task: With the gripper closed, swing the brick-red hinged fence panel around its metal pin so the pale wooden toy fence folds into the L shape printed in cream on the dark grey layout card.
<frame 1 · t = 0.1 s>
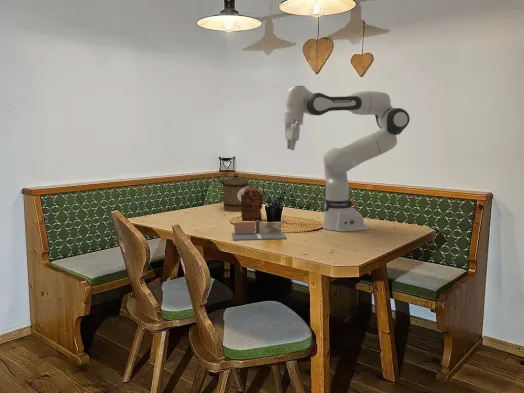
hand: (290, 149, 228), 39 cm above the table, tool pointing down, fingers open, 8 cm apart
hinged fence panel: (244, 227, 222), point 3 cm above the table, hinge at 0.0°
wooden container: (236, 209, 287), on the table
layout card: (258, 236, 219), on the table
wooden figurine: (252, 221, 254), on the table
fixed fence panel: (257, 234, 223), resting on layout card
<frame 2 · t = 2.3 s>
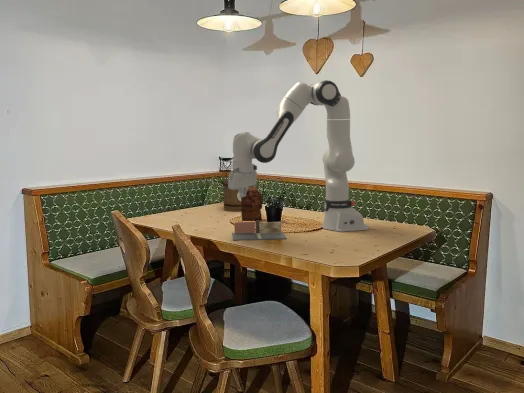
hand: (242, 196, 225), 17 cm above the table, tool pointing down, fingers closed
nothing on the table moved.
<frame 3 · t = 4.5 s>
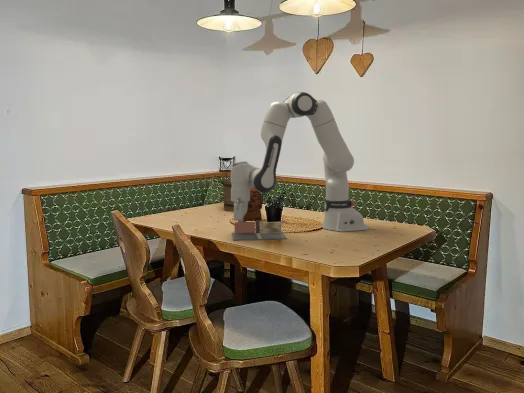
hand: (240, 225, 224), 4 cm above the table, tool pointing down, fingers closed
hinged fence panel: (244, 227, 222), point 3 cm above the table, hinge at 1.2°, touching gripper
everything else where it was.
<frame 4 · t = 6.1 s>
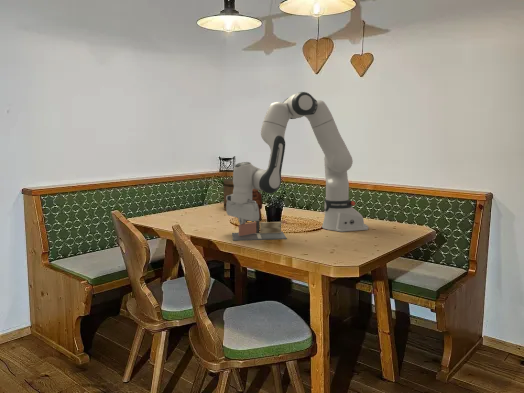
hand: (242, 227, 219), 4 cm above the table, tool pointing down, fingers closed, pressing on hinged fence panel
hinged fence panel: (247, 228, 219), point 3 cm above the table, hinge at 34.3°, touching gripper
everything else where it was.
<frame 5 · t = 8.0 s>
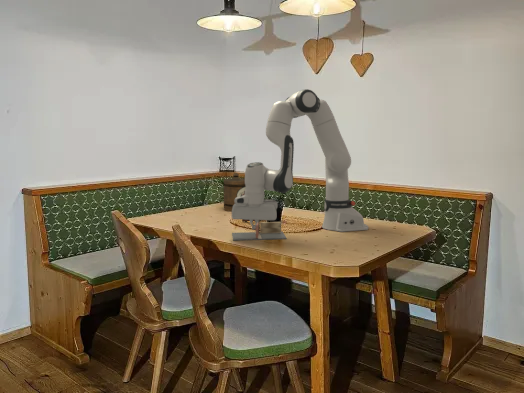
hand: (253, 229, 215), 4 cm above the table, tool pointing down, fingers closed, pressing on hinged fence panel
hinged fence panel: (257, 229, 217), point 3 cm above the table, hinge at 82.6°, touching gripper
everything else where it was.
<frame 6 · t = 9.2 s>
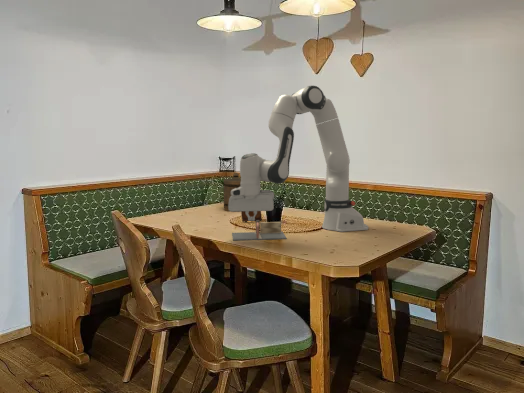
hand: (251, 220, 215), 8 cm above the table, tool pointing down, fingers closed
hinged fence panel: (257, 229, 217), point 3 cm above the table, hinge at 84.4°
everything else where it was.
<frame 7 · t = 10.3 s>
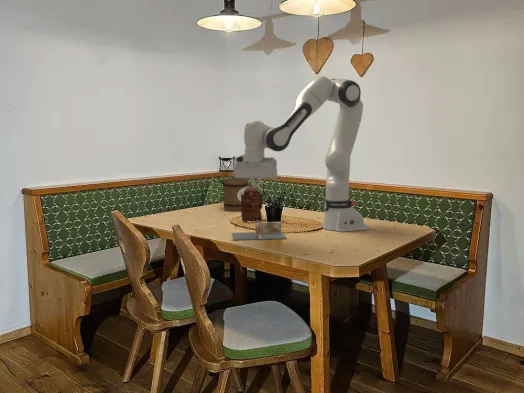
hand: (255, 188, 217), 22 cm above the table, tool pointing down, fingers closed
nothing on the table moved.
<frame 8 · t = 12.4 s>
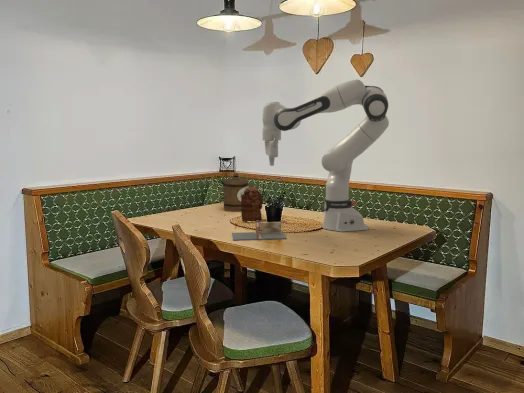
hand: (271, 165, 230), 31 cm above the table, tool pointing down, fingers closed
nothing on the table moved.
at the end: hinged fence panel at +84° (first picture: +0°) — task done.
